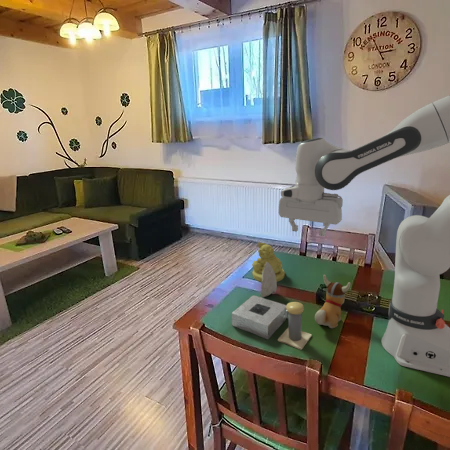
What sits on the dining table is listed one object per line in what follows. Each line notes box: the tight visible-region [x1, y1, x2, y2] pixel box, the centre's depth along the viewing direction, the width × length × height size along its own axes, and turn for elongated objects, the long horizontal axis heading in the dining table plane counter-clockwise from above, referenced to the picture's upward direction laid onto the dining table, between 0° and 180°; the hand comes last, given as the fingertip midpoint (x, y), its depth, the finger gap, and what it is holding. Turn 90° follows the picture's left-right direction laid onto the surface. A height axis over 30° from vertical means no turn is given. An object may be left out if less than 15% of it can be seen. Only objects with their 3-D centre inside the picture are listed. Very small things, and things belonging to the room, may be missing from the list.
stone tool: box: [260, 262, 278, 298], centre depth 129 cm, size 8×3×15 cm, turn 127°
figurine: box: [251, 241, 286, 283], centre depth 146 cm, size 15×14×15 cm
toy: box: [314, 274, 352, 329], centre depth 110 cm, size 10×16×15 cm, turn 135°
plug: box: [285, 301, 305, 341], centre depth 103 cm, size 5×5×11 cm
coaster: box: [277, 326, 312, 351], centre depth 105 cm, size 8×8×1 cm
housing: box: [231, 295, 288, 340], centre depth 114 cm, size 14×14×5 cm
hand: (308, 233), depth 107 cm, fingers open, 8 cm apart
